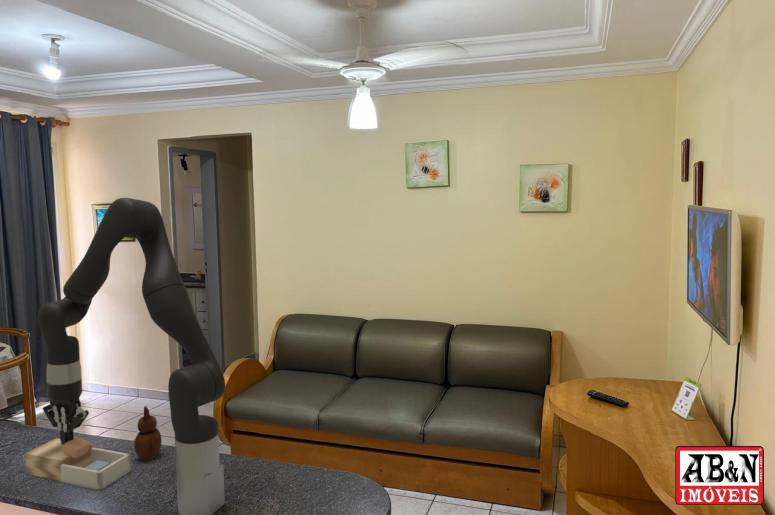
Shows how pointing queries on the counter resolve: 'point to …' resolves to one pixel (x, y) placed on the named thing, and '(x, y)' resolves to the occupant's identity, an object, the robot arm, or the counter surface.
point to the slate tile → (97, 465)
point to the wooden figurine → (147, 437)
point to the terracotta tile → (76, 447)
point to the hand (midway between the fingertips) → (67, 443)
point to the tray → (94, 478)
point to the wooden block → (53, 460)
